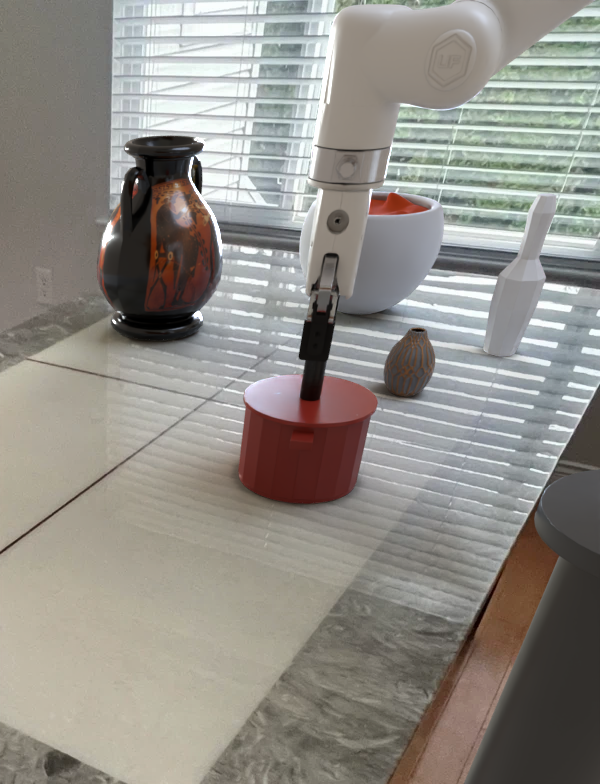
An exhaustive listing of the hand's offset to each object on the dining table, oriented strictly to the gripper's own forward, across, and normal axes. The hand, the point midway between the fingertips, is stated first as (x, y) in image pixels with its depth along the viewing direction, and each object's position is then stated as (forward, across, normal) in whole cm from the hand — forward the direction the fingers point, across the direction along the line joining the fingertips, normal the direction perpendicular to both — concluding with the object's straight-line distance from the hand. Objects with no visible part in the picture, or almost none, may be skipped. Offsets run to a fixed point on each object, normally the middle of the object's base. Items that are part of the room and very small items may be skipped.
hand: (315, 345), depth 95 cm
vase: (+16, +32, -14) cm, 38 cm away
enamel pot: (+16, 0, 0) cm, 16 cm away
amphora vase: (+16, +54, +28) cm, 63 cm away
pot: (+16, +73, -6) cm, 75 cm away
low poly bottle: (+16, +53, -28) cm, 62 cm away
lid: (+6, 0, 0) cm, 6 cm away
